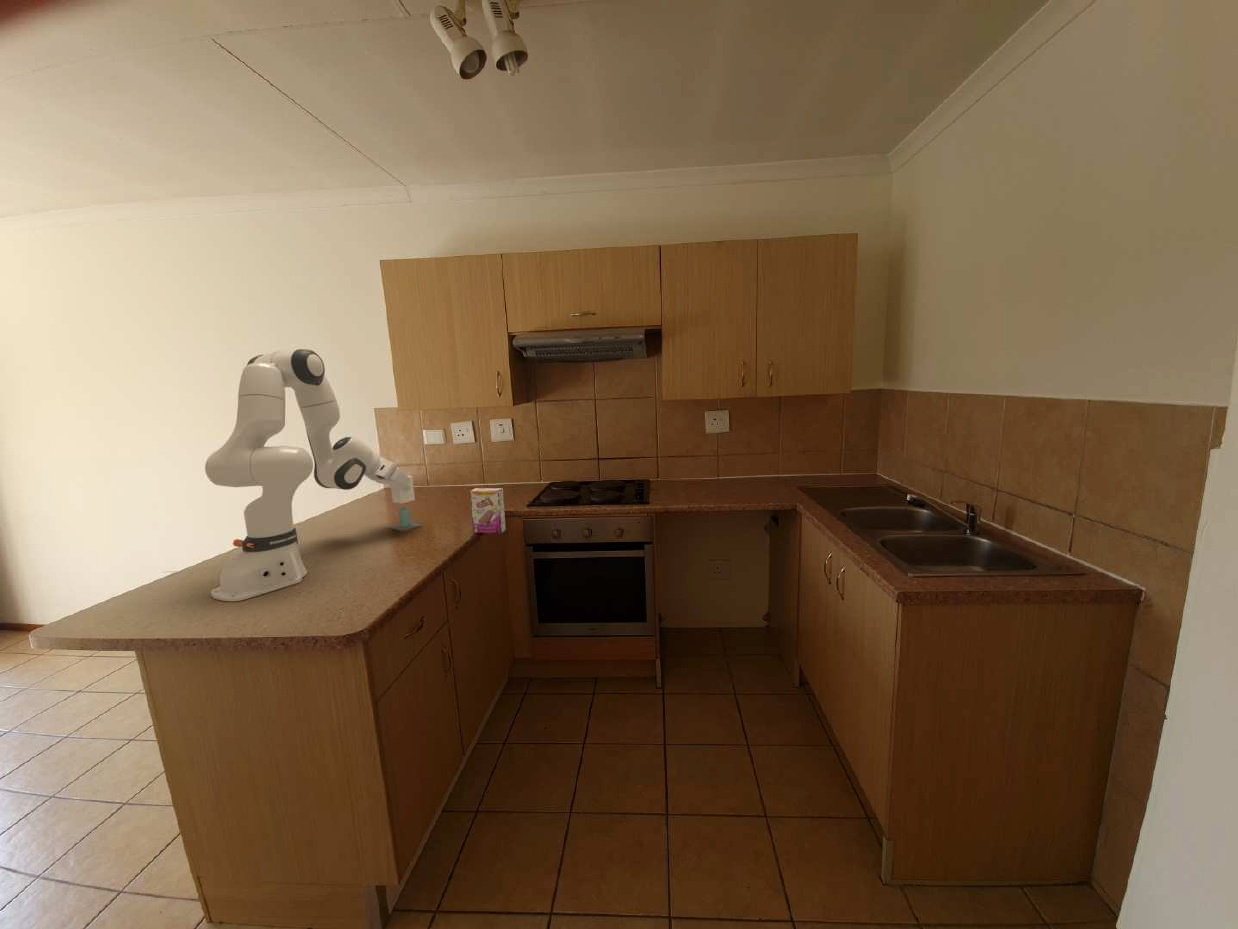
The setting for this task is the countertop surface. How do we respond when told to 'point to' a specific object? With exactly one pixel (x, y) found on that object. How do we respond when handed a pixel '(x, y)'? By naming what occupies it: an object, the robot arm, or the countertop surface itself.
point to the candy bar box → (488, 510)
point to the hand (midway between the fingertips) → (403, 488)
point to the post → (404, 521)
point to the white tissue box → (403, 493)
